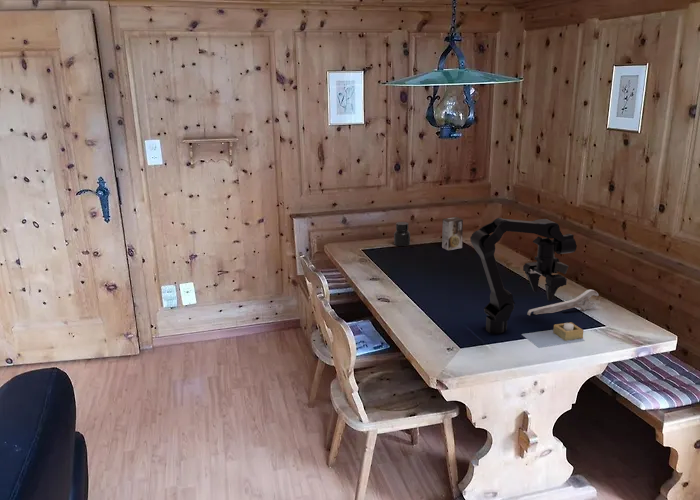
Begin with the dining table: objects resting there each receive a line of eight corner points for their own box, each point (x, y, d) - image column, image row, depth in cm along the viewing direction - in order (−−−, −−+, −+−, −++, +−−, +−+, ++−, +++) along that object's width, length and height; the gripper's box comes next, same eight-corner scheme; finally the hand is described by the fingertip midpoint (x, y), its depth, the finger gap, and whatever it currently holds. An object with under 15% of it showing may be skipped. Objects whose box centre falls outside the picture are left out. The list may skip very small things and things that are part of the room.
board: (538, 350, 192) (539, 336, 190) (521, 336, 202) (522, 323, 200) (584, 343, 196) (586, 330, 194) (565, 330, 206) (566, 317, 205)
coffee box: (455, 245, 311) (456, 216, 307) (462, 248, 306) (463, 219, 301) (441, 247, 308) (442, 218, 303) (448, 250, 302) (449, 221, 297)
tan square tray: (565, 340, 196) (565, 332, 195) (553, 332, 202) (553, 324, 201) (582, 338, 198) (583, 330, 197) (570, 330, 204) (571, 322, 203)
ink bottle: (411, 242, 318) (412, 221, 315) (409, 247, 310) (410, 225, 306) (394, 241, 320) (394, 221, 317) (392, 246, 312) (392, 224, 309)
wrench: (527, 323, 220) (595, 306, 225) (530, 325, 218) (598, 308, 224) (526, 304, 217) (595, 287, 223) (529, 306, 216) (598, 289, 221)
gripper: (582, 260, 195) (577, 303, 199) (550, 245, 212) (547, 285, 217) (553, 263, 192) (549, 306, 197) (523, 248, 209) (520, 288, 214)
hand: (542, 296), depth 206 cm, fingers open, 9 cm apart
